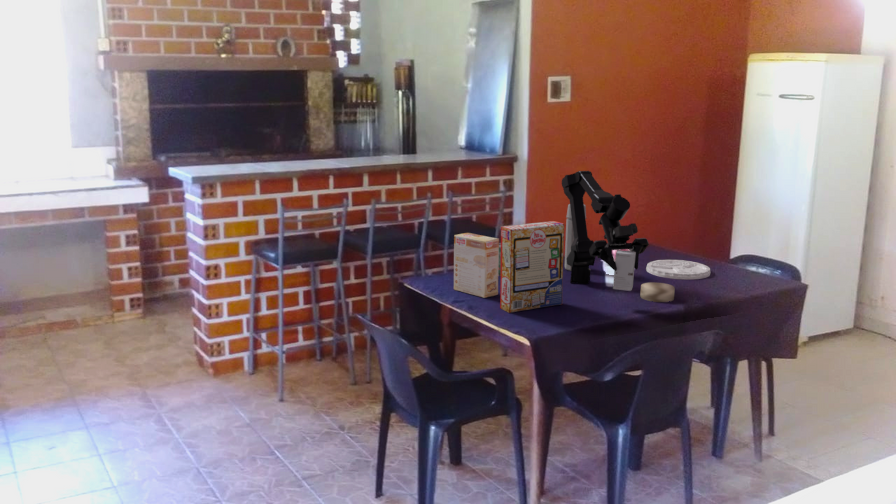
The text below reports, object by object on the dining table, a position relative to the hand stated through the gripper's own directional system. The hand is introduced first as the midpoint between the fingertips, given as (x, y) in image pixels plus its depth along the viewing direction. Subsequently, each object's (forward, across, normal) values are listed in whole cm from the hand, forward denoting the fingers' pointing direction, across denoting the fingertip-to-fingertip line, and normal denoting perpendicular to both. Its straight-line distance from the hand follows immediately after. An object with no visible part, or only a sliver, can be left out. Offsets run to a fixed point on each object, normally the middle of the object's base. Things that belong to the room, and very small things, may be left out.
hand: (626, 269), depth 256 cm
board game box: (+3, -28, +16) cm, 33 cm away
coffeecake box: (-12, -41, +31) cm, 52 cm away
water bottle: (-27, +6, +47) cm, 54 cm away
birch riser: (+3, +17, +16) cm, 23 cm away
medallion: (-19, +43, +39) cm, 61 cm away
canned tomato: (-26, -22, +46) cm, 57 cm away
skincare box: (+4, 0, +6) cm, 7 cm away
